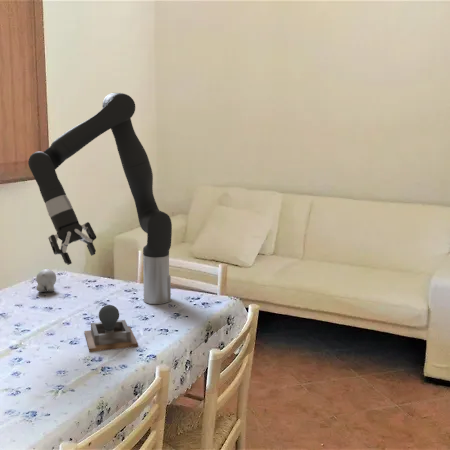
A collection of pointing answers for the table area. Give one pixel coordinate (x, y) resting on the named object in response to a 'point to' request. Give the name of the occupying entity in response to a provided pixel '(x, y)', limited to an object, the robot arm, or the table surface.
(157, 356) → the table surface
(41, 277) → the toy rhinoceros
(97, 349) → the socket stand
